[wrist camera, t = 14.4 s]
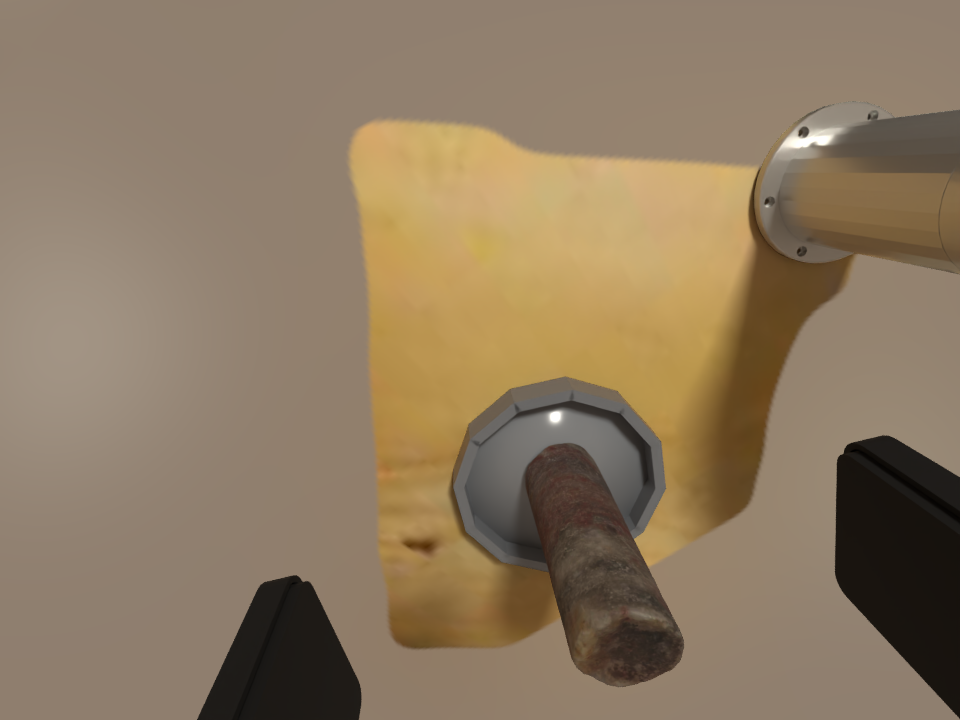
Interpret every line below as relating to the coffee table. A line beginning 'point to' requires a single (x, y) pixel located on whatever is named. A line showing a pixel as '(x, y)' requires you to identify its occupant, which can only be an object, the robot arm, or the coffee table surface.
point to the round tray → (526, 433)
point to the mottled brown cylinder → (598, 573)
